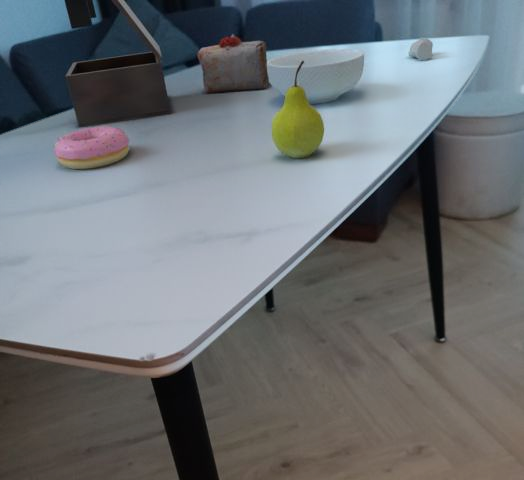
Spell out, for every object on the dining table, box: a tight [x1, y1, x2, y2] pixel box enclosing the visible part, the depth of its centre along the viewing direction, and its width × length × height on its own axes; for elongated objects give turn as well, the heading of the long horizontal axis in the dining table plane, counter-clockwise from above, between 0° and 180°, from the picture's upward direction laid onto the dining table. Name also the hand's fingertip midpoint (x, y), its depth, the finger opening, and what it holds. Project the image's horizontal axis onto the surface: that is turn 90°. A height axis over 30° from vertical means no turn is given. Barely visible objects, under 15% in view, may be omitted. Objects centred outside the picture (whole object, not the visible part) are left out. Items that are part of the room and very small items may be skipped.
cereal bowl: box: [267, 48, 365, 105], centre depth 105 cm, size 17×17×7 cm
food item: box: [197, 33, 270, 94], centre depth 118 cm, size 14×8×10 cm, turn 81°
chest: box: [65, 51, 172, 128], centre depth 112 cm, size 17×16×9 cm
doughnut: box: [53, 125, 130, 170], centre depth 88 cm, size 11×11×4 cm
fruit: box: [270, 61, 325, 159], centre depth 77 cm, size 7×7×12 cm
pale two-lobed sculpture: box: [408, 37, 434, 62], centre depth 127 cm, size 4×8×5 cm
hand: (85, 23), depth 84 cm, fingers open, 13 cm apart
